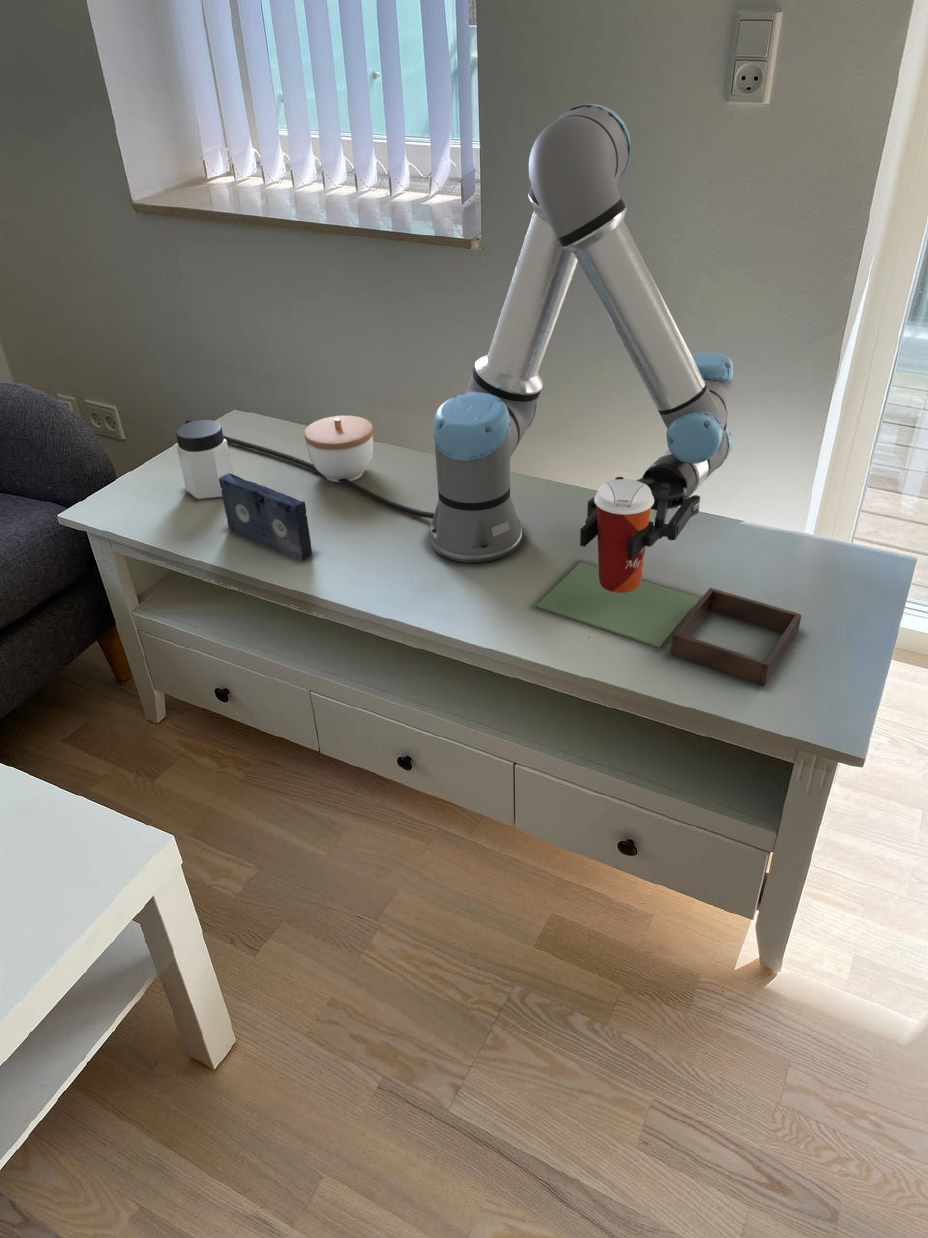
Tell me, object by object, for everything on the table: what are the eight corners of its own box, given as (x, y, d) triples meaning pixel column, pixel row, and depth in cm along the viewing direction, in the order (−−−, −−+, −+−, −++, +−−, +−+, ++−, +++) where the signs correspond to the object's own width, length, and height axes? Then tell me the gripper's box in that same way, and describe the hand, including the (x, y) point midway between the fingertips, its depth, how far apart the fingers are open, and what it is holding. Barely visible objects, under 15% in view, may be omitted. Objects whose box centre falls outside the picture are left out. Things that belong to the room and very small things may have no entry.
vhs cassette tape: (313, 554, 160) (305, 501, 155) (300, 562, 158) (291, 508, 153) (241, 522, 170) (231, 471, 164) (228, 529, 168) (217, 478, 163)
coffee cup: (646, 599, 139) (653, 506, 130) (588, 595, 140) (591, 503, 132) (649, 568, 146) (656, 477, 137) (594, 564, 147) (597, 475, 138)
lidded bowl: (318, 458, 190) (311, 405, 183) (382, 459, 188) (377, 405, 182) (303, 489, 180) (295, 433, 173) (370, 489, 178) (364, 433, 172)
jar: (236, 476, 185) (224, 417, 178) (234, 496, 178) (222, 435, 171) (188, 481, 184) (174, 422, 177) (185, 501, 177) (171, 440, 170)
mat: (535, 607, 145) (535, 605, 145) (580, 563, 155) (580, 562, 155) (659, 648, 136) (660, 646, 136) (699, 599, 145) (699, 597, 145)
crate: (669, 654, 135) (671, 634, 133) (707, 607, 144) (710, 587, 141) (764, 686, 128) (768, 665, 126) (797, 634, 137) (801, 614, 135)
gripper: (732, 513, 147) (669, 586, 132) (616, 484, 157) (544, 549, 141) (738, 468, 143) (674, 538, 128) (618, 441, 152) (544, 503, 137)
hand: (606, 544), depth 135 cm, fingers closed on coffee cup, 6 cm apart
